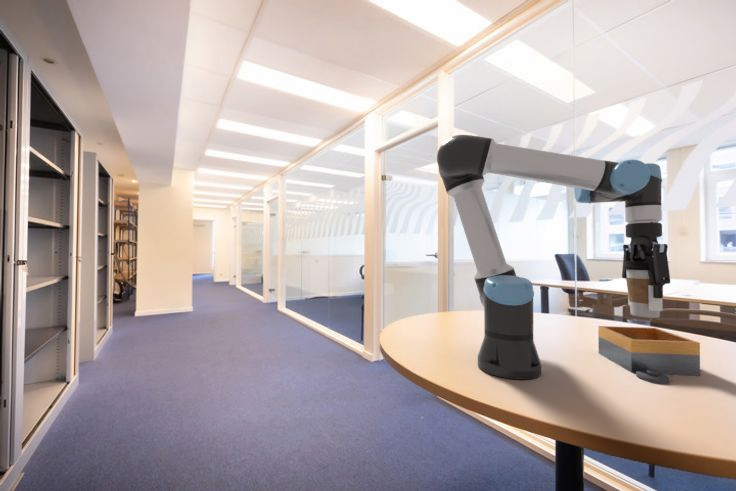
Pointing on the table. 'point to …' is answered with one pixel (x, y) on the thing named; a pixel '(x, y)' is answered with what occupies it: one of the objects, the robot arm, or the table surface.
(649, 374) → the disc
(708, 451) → the table surface
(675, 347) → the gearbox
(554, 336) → the table surface
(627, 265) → the coffee cup
